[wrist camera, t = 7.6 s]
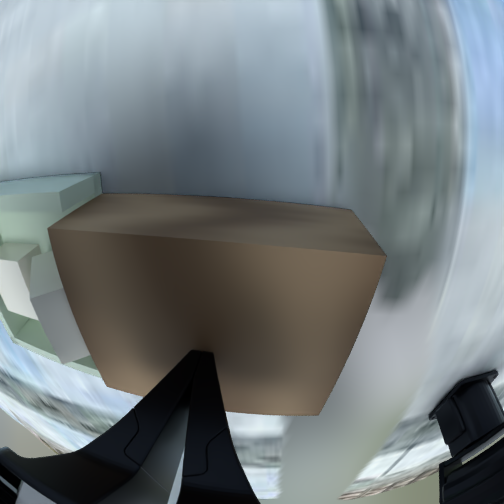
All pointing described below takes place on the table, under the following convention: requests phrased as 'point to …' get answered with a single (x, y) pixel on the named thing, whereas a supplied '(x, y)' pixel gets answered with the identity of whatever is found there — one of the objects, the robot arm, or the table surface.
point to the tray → (41, 242)
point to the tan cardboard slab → (219, 292)
